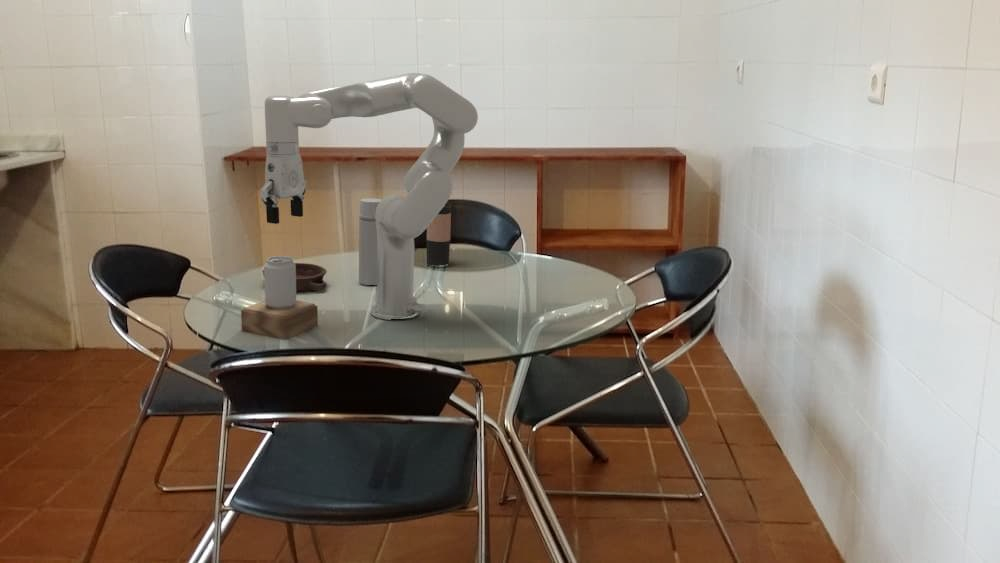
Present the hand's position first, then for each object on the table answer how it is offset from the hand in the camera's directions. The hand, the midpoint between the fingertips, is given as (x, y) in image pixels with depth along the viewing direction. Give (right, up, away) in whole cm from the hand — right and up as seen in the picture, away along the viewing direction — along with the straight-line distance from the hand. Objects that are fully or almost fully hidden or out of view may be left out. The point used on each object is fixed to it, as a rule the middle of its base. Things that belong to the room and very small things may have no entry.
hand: (285, 219), depth 211 cm
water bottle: (+14, -16, +47) cm, 52 cm away
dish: (-7, -17, +40) cm, 44 cm away
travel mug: (+32, -10, +72) cm, 79 cm away
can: (-2, -21, +2) cm, 21 cm away
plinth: (-2, -26, +4) cm, 27 cm away
